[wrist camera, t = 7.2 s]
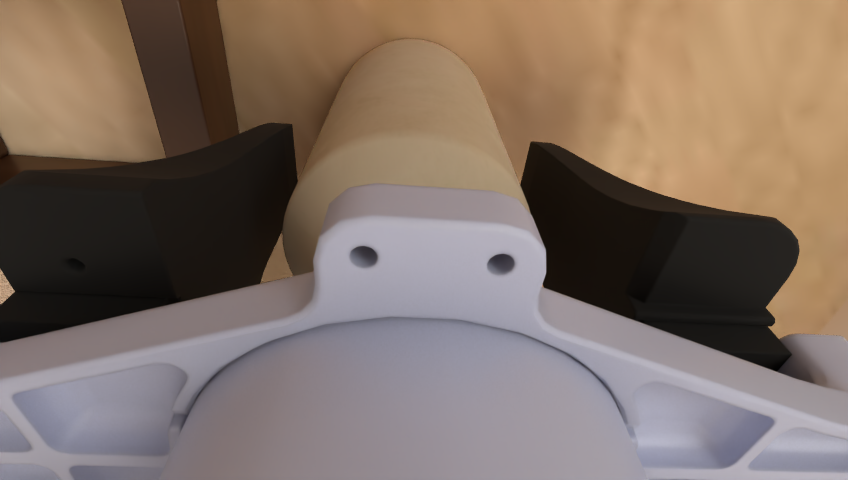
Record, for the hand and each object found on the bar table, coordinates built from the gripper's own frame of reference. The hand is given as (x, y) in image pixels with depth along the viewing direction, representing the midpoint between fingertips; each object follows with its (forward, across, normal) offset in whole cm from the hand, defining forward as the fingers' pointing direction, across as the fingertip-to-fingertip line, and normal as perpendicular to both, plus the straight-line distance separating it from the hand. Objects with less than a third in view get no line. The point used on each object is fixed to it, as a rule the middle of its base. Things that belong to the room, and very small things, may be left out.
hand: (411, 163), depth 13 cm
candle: (+4, 0, 0) cm, 4 cm away
